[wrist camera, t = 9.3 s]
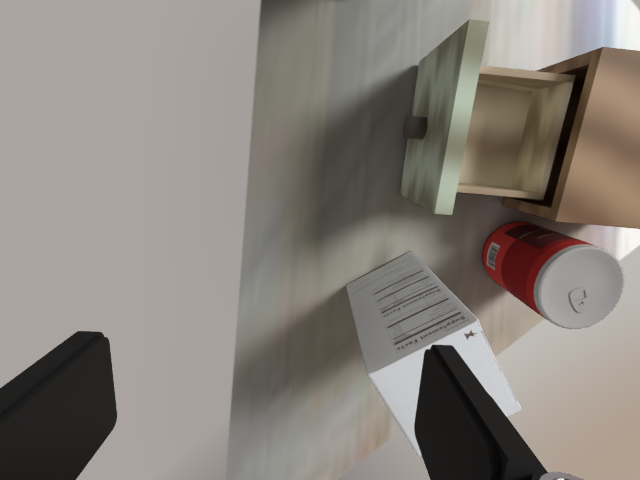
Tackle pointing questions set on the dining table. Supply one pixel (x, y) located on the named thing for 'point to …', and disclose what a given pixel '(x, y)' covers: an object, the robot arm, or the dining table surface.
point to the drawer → (480, 125)
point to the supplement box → (417, 336)
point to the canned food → (554, 273)
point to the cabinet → (595, 144)
